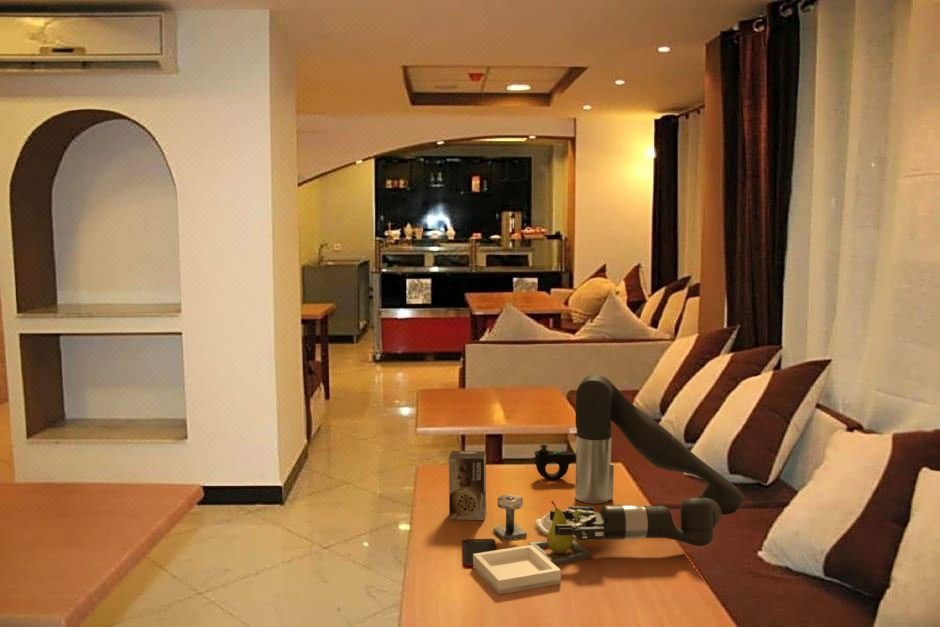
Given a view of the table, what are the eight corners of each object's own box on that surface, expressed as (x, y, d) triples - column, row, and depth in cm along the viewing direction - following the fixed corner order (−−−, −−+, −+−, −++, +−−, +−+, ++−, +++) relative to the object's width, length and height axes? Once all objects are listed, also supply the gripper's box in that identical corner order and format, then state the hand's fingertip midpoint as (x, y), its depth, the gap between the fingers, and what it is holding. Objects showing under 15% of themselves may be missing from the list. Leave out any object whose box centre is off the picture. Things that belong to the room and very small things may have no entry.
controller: (533, 476, 242) (533, 443, 240) (575, 476, 242) (576, 443, 240) (534, 481, 237) (534, 447, 236) (577, 481, 237) (578, 447, 236)
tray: (531, 557, 185) (531, 544, 185) (560, 583, 172) (560, 569, 172) (473, 567, 180) (473, 553, 180) (498, 594, 167) (498, 580, 167)
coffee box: (486, 511, 213) (487, 450, 211) (484, 521, 207) (485, 458, 205) (451, 510, 214) (451, 449, 212) (448, 519, 208) (448, 457, 206)
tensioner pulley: (516, 528, 202) (516, 492, 201) (526, 537, 197) (527, 500, 196) (493, 531, 200) (493, 495, 199) (503, 540, 195) (503, 503, 194)
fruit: (576, 557, 186) (577, 505, 184) (551, 559, 184) (551, 507, 183) (567, 547, 191) (568, 496, 190) (543, 549, 190) (544, 498, 188)
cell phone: (495, 542, 195) (495, 538, 194) (498, 569, 180) (498, 565, 180) (462, 542, 194) (462, 538, 194) (463, 569, 180) (463, 565, 180)
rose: (580, 508, 204) (571, 522, 195) (579, 526, 205) (570, 540, 196) (540, 503, 207) (530, 517, 198) (540, 520, 208) (529, 534, 199)
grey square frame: (569, 541, 194) (569, 536, 194) (591, 558, 185) (591, 553, 185) (528, 547, 191) (528, 542, 191) (549, 565, 181) (549, 560, 181)
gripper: (630, 550, 181) (556, 551, 180) (617, 526, 195) (548, 526, 194) (631, 517, 180) (556, 518, 179) (618, 495, 194) (548, 495, 193)
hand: (552, 522), depth 187 cm, fingers open, 8 cm apart
